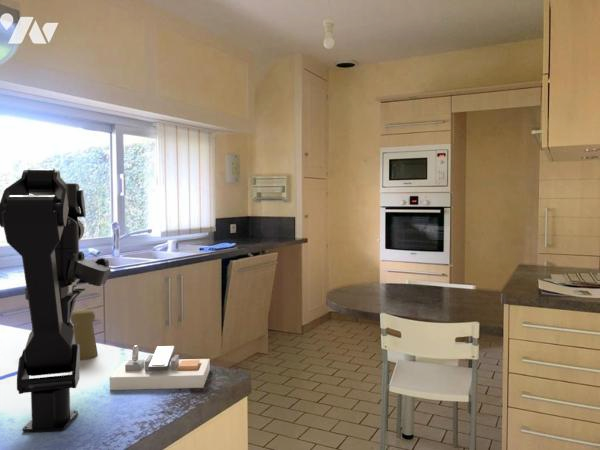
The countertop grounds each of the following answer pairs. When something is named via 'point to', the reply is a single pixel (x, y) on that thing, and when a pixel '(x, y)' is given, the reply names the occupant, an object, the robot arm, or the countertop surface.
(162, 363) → the rocker switch
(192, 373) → the switch panel
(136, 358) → the toggle lever
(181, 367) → the push button
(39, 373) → the robot arm
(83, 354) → the cork
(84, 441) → the countertop surface
